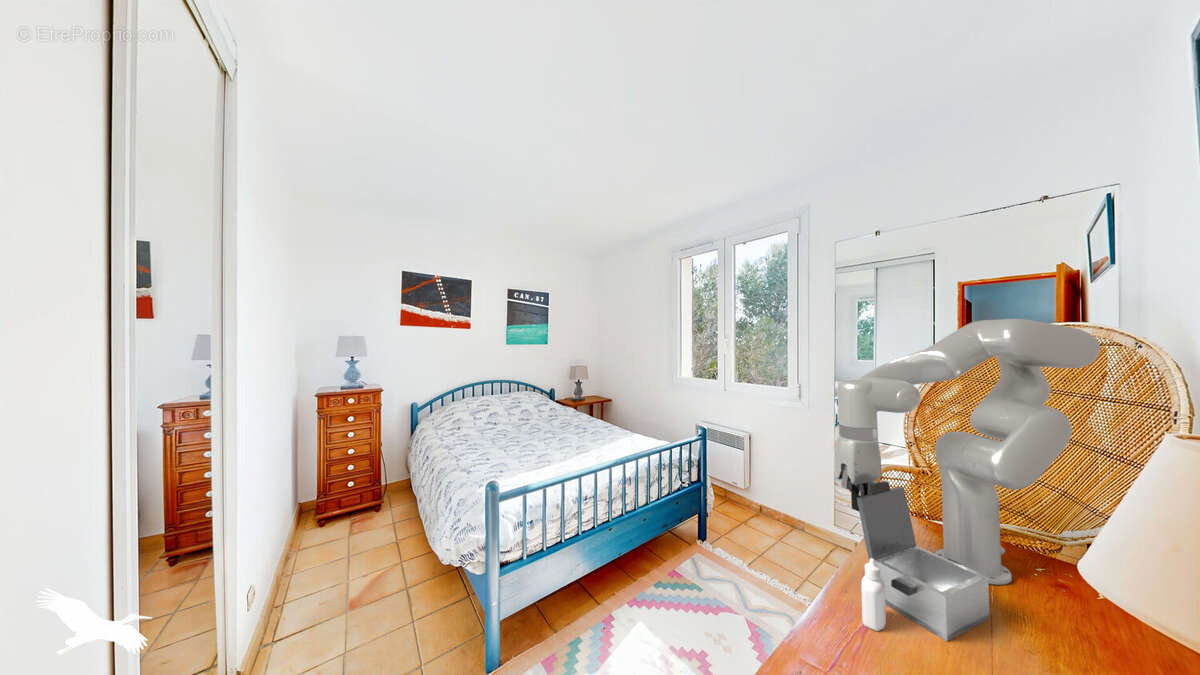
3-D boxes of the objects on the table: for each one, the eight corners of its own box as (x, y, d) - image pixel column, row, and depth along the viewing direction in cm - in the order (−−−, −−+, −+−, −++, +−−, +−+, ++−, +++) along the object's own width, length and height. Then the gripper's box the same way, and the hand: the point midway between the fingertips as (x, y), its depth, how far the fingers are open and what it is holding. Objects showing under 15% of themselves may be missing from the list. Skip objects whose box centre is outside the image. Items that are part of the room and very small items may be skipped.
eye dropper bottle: (897, 628, 69) (895, 564, 69) (872, 633, 68) (870, 568, 68) (875, 611, 74) (873, 551, 74) (851, 616, 72) (850, 555, 73)
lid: (916, 546, 82) (911, 545, 83) (901, 478, 85) (897, 477, 86) (873, 562, 77) (868, 560, 78) (859, 488, 80) (854, 488, 81)
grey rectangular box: (923, 578, 83) (922, 543, 83) (996, 615, 72) (994, 574, 72) (868, 601, 76) (867, 562, 76) (938, 645, 65) (937, 600, 65)
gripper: (863, 426, 93) (866, 499, 93) (820, 432, 88) (823, 509, 88) (896, 432, 86) (899, 511, 86) (851, 440, 81) (854, 524, 81)
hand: (860, 510), depth 87 cm, fingers closed
